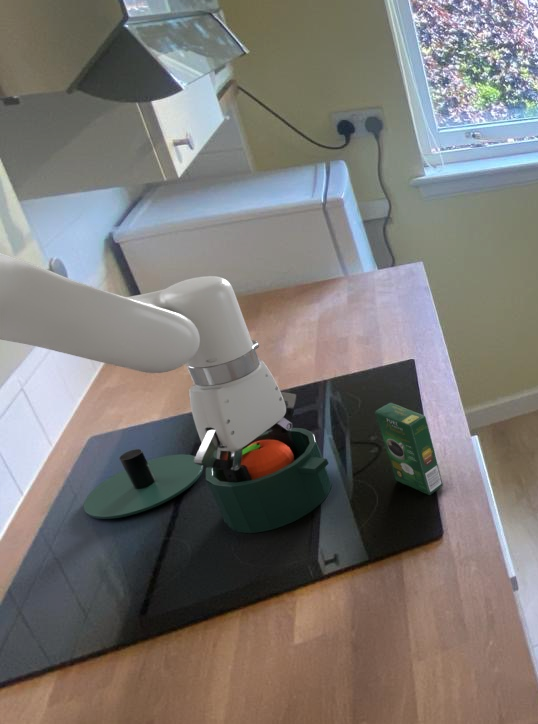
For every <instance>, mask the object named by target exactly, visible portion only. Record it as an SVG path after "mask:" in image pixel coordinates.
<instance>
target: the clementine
mask: <svg viewBox="0 0 538 724" xmlns="http://www.w3.org/2000/svg"><path fill="white" fill-rule="evenodd" d="M293 462H294V455H293V453H292V451H291V449H290V448H289V447H288V446H287V445H286V444H284V443H283V442H280V441H278V440H260V441H257V442H254V443H252V444H251V445H249V446H248V447H246V448H245V449H243V450H242V459H241V465H245V466H246V467H247V469H248V472H249V474H250V477H251V479H252V480H254V479H257V478H260V477H263V476H266V475H269V474H272V473H274V472H276V471H278V470H280V469H282V468H284V467H286V466H287V465H289V464H291V463H293Z"/></svg>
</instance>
